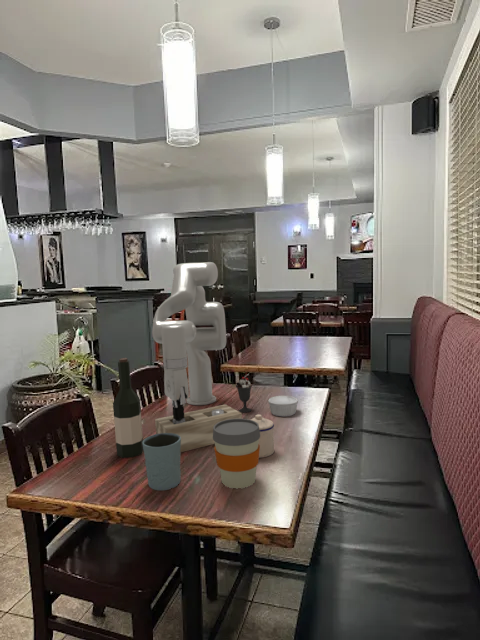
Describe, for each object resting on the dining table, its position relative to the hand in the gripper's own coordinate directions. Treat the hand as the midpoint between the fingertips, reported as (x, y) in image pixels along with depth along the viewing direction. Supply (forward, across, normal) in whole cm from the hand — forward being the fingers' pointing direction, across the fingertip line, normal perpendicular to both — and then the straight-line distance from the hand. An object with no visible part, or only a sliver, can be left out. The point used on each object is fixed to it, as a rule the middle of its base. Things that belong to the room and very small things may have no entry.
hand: (178, 418), depth 145 cm
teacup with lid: (+9, +19, +17) cm, 27 cm away
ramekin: (+9, -6, +45) cm, 46 cm away
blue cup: (+9, +22, -13) cm, 27 cm away
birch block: (+9, 0, +7) cm, 11 cm away
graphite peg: (+8, 0, 0) cm, 8 cm away
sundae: (+9, -17, +34) cm, 39 cm away
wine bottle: (+9, -3, -16) cm, 18 cm away
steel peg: (+8, 0, +14) cm, 16 cm away
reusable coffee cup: (+9, +32, +4) cm, 34 cm away
